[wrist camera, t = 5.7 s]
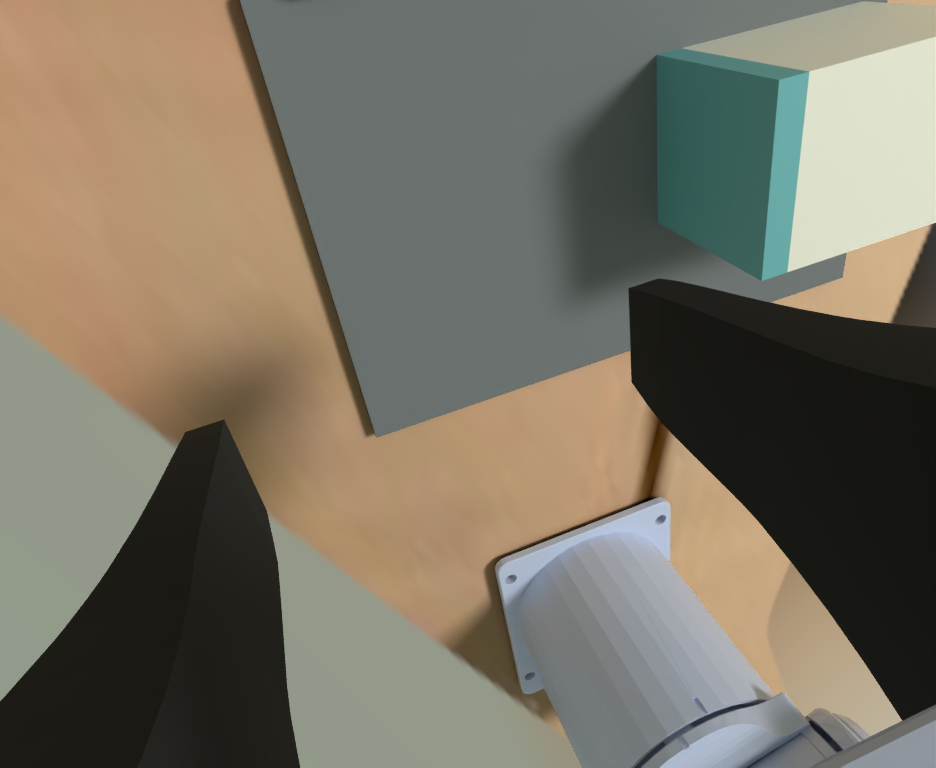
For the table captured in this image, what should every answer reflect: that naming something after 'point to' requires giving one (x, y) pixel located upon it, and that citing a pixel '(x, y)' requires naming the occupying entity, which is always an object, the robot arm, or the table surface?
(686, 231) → the cream block
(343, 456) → the table surface
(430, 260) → the rubber mat
